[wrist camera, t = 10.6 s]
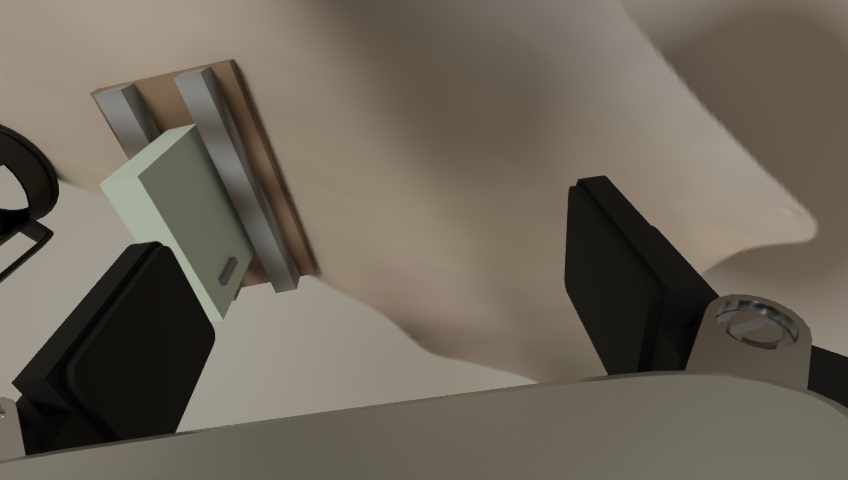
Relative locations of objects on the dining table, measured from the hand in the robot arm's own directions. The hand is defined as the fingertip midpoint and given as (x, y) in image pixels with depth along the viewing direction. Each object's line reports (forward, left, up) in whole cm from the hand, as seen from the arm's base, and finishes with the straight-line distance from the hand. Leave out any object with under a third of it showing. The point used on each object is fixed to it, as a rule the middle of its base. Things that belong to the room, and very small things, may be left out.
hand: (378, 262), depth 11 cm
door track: (+9, -17, -29) cm, 34 cm away
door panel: (+8, -17, -28) cm, 34 cm away
